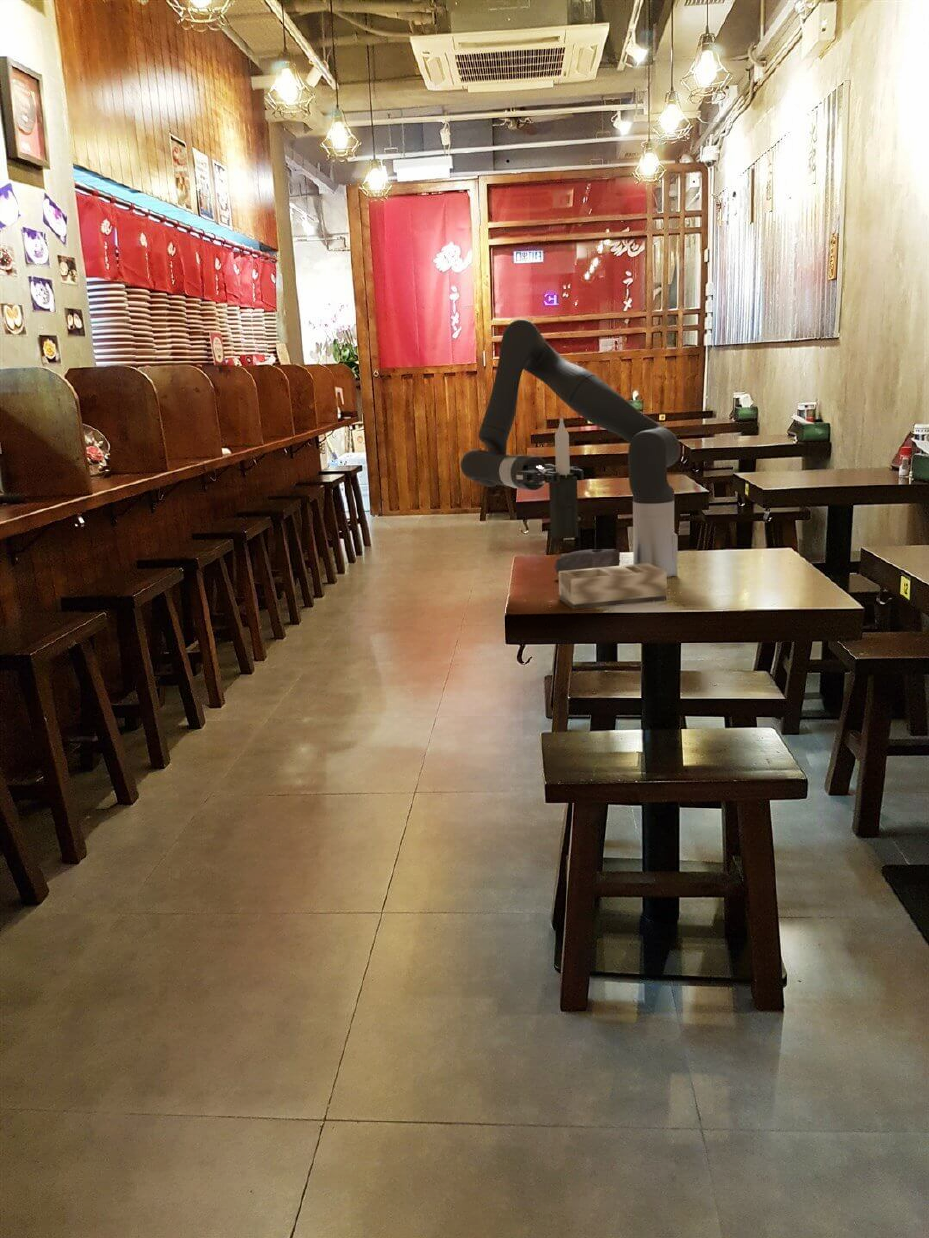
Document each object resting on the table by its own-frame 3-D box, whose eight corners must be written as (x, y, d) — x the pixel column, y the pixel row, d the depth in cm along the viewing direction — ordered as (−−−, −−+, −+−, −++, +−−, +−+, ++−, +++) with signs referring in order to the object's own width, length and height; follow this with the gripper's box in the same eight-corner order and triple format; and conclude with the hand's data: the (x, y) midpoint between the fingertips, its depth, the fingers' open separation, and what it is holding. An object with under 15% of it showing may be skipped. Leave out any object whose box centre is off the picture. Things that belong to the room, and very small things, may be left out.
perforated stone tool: (553, 581, 223) (552, 551, 221) (557, 576, 228) (556, 547, 226) (618, 581, 219) (618, 551, 217) (620, 576, 224) (620, 547, 222)
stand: (648, 590, 209) (648, 563, 207) (666, 600, 199) (666, 571, 198) (559, 598, 205) (558, 571, 204) (573, 609, 195) (573, 580, 194)
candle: (557, 539, 204) (554, 419, 198) (549, 536, 209) (545, 418, 203) (580, 537, 206) (577, 417, 199) (570, 533, 210) (568, 417, 204)
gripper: (496, 458, 211) (542, 461, 197) (548, 452, 219) (596, 455, 205) (497, 492, 213) (543, 498, 199) (549, 485, 220) (597, 490, 207)
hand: (570, 476), depth 202 cm, fingers closed on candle, 5 cm apart
